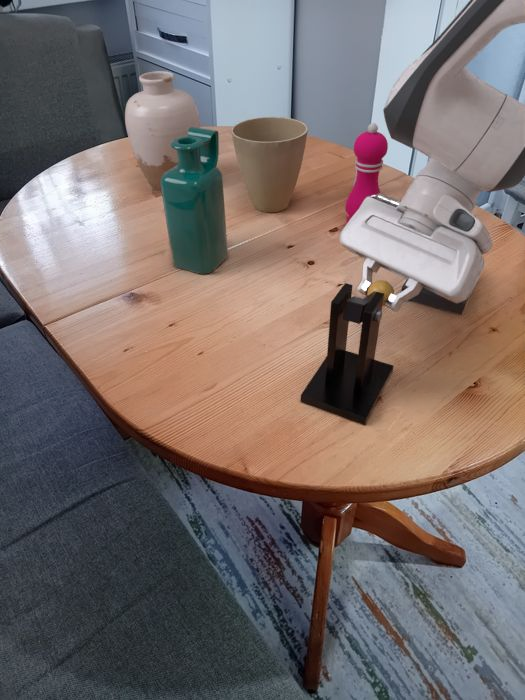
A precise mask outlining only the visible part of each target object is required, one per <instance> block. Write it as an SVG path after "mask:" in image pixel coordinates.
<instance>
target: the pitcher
mask: <svg viewBox="0 0 525 700" xmlns="http://www.w3.org/2000/svg"><path fill="white" fill-rule="evenodd" d="M219 141H220V140H219V131H218V130H215V129H209V128H203V127H202V128H201V127H200V128H196V127H190V128H189V130H188V136H184V137H179V138H176V139H174V140H173V141H172V142H171V144H170V145H171V147H172V148H173V149H175V150H177V156H178V165H176V166H175V167H173V168H172V169H170V170H168V171H167V172H165V173H164V174H163V176H162V178H161V182H160V183H161V190H162V191H161V196H162V203H163V210H164V216H165V224H166V229H167V235H168V242H169V248H170V256H171V262H172V265H173V266H174V267H176V268H178V269H181V270H185V271H189V272H193V273H197V274H201V275H207V274H209V273H212V272H214V271H215V270H216V269H217V268H218V267H219V266H221V264H222V263H223V262H224V261H225V260H226V259H227V258H228V255H229V250H228V239H227V223H226V222H227V221H226V209H225V208H226V207H225V195H224V183H223V182H224V180H223V173H222V172H221V169H220V168H218V167H217V166H218V162H219V153H220V150H219V146H220V144H219Z"/></svg>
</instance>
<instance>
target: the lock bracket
mask: <svg viewBox="0 0 525 700" xmlns="http://www.w3.org/2000/svg"><path fill="white" fill-rule="evenodd" d="M353 286H354V285H353V284H350V283H347V282H346V283H344V284H343V285H342V287H340V290H339V291H338V292H337V293H336V295H335V296H334V298H333V299H332V300H331V301H330V313H329V324H328V325H329V326H328V337H327V338H328V340H327V353H326V356H325V358H324V360H323V361H322V363H321V364H320V366H319V367H318V369H317V370H316V372H315V373H314V374H313V376H312V378H311V379H310V380H309V382H308V383H307V385H306V387H305V388H304V390H303V391H302V392H301V393H300V400H299V401H300V402H301V404H305V405H308V406H309V407H312V408H316V409H318V410H321V411H324V412H327V413H329V414H331V415H335V416H338V417H340V418H343V419H345V420H349V421H351V422H355V423H357V424H359V425H362V426H366V425H367V423H368V421H369V419H370V417H371V415H372V414H373V411H374V410H375V407H376V405H377V403H378V402H379V399H380V397H381V396H382V394H383V392H384V391H385V388H386V386H387V384H388V383H389V380H390V378H391V376H392V374H393V372H394V367H395V365H394V364H391V363H386V362H384V361H381V360H377V359H375V358H376V351H377V344H378V337H379V330H380V324H381V320H382V317H383V307H384V306H383V299H384V293H380V292H376V293H375V295H374V296H373V298H372V299H371V301H370V302H369V304H368V305H367V307H366V308H365V310H364V313H363V321H362V323H361V329H360V335H359V336H360V337H359V345H358V352H357V353H356V352H352V351H349V350H347V342H348V332H349V323H350V321H347V320H344V319H343V314H344V310H345V305H346V301H347V300H348V299H350V298H351V297H353V296H352V295H353Z"/></svg>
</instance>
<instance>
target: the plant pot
mask: <svg viewBox="0 0 525 700" xmlns="http://www.w3.org/2000/svg"><path fill="white" fill-rule="evenodd" d="M308 131H309V127H308V125H307V124H306V123H305V122H303V121H302V120H301V121H300V120H298V119H295V118H291V117H284V116H261V117H254V118H250V119H249V118H248V119H245V120H243V121H240V122H238V123H235V124H234V125H233V126H232V128H231V132H230V133H231V137H232V142H233V147H234V151H235V156H236V160H237V164H238V168H239V171H240V174H241V177H242V181H243V184H244V187H245V189H246V192H247V194H248V196H249V199H250V201H251V203H252V205H253V207H254V208H255V209H256V210H257V211H260V212H263V213H278V212H281V211H283V210H285V209H287V208H288V206H289V204H290V201H291V199H292V196H293V194H294V192H295V188H296V186H297V181H298V179H299V175H300V172H301V168H302V164H303V160H304V154H305V149H306V144H307V138H308V137H307V136H308Z"/></svg>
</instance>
